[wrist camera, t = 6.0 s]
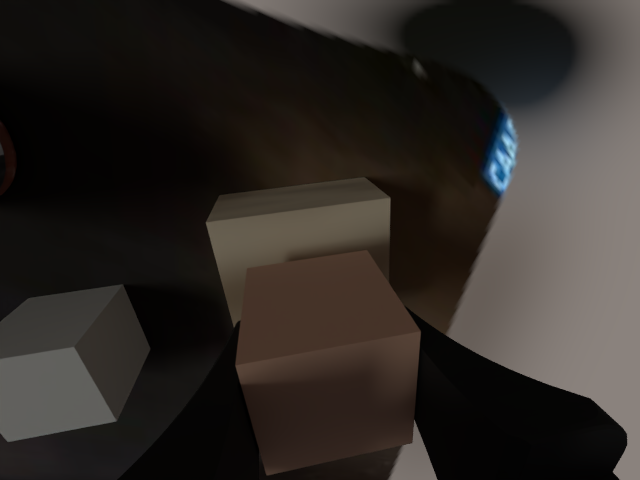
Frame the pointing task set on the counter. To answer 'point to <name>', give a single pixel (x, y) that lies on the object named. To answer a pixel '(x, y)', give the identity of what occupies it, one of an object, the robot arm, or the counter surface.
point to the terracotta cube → (326, 360)
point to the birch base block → (296, 228)
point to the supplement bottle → (6, 159)
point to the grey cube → (68, 361)
